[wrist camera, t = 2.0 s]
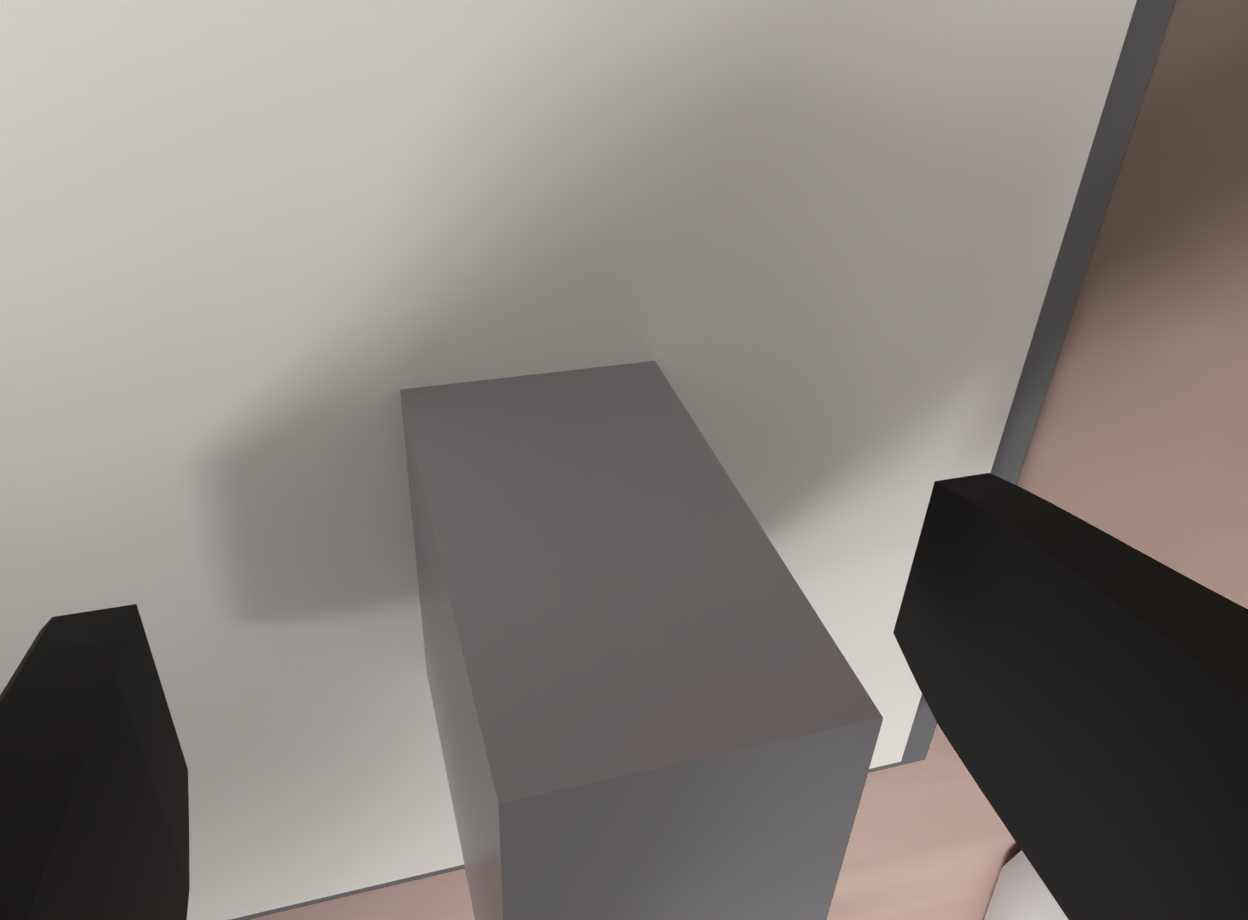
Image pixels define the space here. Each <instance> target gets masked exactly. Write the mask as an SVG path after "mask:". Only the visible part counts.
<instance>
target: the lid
mask: <svg viewBox="0 0 1248 920" xmlns="http://www.w3.org/2000/svg"><path fill="white" fill-rule="evenodd" d="M1136 1H1137V0H0V695H1V693H2V692H3V690H4V688H5V687H6V685H7V684H8V682H9V680H10V679H11V677H12V675H13V674H14V672H15V671H16V669H17V667H18V666H19V664H20V663H21V661H22V659H23V658H24V656H25V654H26V653H27V651H28V649H29V648H30V646H31V645H32V643H33V641H34V640H35V638H36V636H37V635H38V633H39V632H40V630H41V629H42V628H43V627H44V626H45V625H46V623H47V622H48V621H49V620H50V619H51V618H52V617H55V616H62V615H68V614H75V613H81V612H88V611H94V610H101V609H107V608H114V607H120V606H127V605H133V604H137V607H138V611H139V614H140V617H141V620H142V624H143V627H144V630H145V633H146V636H147V640H148V643H149V646H150V649H151V653H152V656H153V659H154V662H155V665H156V669H157V672H158V675H159V678H160V681H161V685H162V688H163V691H164V694H165V698H166V701H167V704H168V707H169V710H170V714H171V717H172V720H173V723H174V726H175V730H176V733H177V736H178V739H179V743H180V746H181V749H182V752H183V755H184V759H185V762H186V765H187V768H188V792H189V875H190V889H189V899H188V910H187V920H230V919H235V918H239V917H243V916H247V915H252V914H256V913H260V912H264V911H269V910H273V909H277V908H281V907H286V906H290V905H294V904H298V903H302V902H307V901H311V900H315V899H319V898H324V897H328V896H332V895H336V894H341V893H345V892H349V891H353V890H358V889H362V888H366V887H370V886H375V885H379V884H383V883H387V882H392V881H396V880H400V879H404V878H409V877H413V876H417V875H421V874H426V873H430V872H434V871H438V870H443V869H447V868H451V867H455V866H460V865H465V870H466V875H467V880H468V886H469V891H470V896H471V901H472V906H473V911H474V916H475V920H826V919H827V915H828V912H829V908H830V905H831V901H832V898H833V894H834V890H835V887H836V883H837V880H838V876H839V873H840V869H841V866H842V862H843V859H844V855H845V852H846V848H847V845H848V841H849V838H850V834H851V831H852V827H853V824H854V820H855V817H856V813H857V809H858V806H859V802H860V799H861V795H862V792H863V788H864V785H865V781H866V778H867V774H868V771H869V769H871V768H876V767H880V766H884V765H888V764H893V763H897V762H901V760H902V757H903V753H904V750H905V747H906V744H907V740H908V737H909V734H910V731H911V728H912V724H913V721H914V718H915V715H916V711H917V708H918V705H919V702H920V699H921V695H922V692H921V690H920V688H919V687H918V685H917V683H916V681H915V678H914V676H913V674H912V672H911V670H910V668H909V666H908V663H907V661H906V659H905V657H904V655H903V653H902V651H901V648H900V646H899V644H898V642H897V640H896V638H895V636H894V633H893V632H894V628H895V624H896V621H897V617H898V613H899V610H900V606H901V602H902V599H903V595H904V592H905V588H906V584H907V581H908V577H909V573H910V570H911V566H912V562H913V559H914V555H915V551H916V548H917V544H918V541H919V537H920V533H921V530H922V526H923V522H924V519H925V515H926V511H927V508H928V504H929V500H930V497H931V493H932V489H933V486H934V482H935V481H939V480H946V479H952V478H959V477H965V476H972V475H978V474H985V473H991V469H992V466H993V463H994V460H995V456H996V453H997V450H998V447H999V444H1000V440H1001V437H1002V434H1003V431H1004V427H1005V424H1006V421H1007V418H1008V414H1009V411H1010V408H1011V405H1012V402H1013V398H1014V395H1015V392H1016V389H1017V385H1018V382H1019V379H1020V376H1021V373H1022V369H1023V366H1024V363H1025V360H1026V356H1027V353H1028V350H1029V347H1030V343H1031V340H1032V337H1033V334H1034V331H1035V327H1036V324H1037V321H1038V318H1039V314H1040V311H1041V308H1042V305H1043V302H1044V298H1045V295H1046V292H1047V289H1048V285H1049V282H1050V279H1051V276H1052V272H1053V269H1054V266H1055V263H1056V260H1057V256H1058V253H1059V250H1060V247H1061V243H1062V240H1063V237H1064V234H1065V231H1066V227H1067V224H1068V221H1069V218H1070V214H1071V211H1072V208H1073V205H1074V201H1075V198H1076V195H1077V192H1078V189H1079V185H1080V182H1081V179H1082V176H1083V172H1084V169H1085V166H1086V163H1087V160H1088V156H1089V153H1090V150H1091V147H1092V143H1093V140H1094V137H1095V134H1096V130H1097V127H1098V124H1099V121H1100V118H1101V114H1102V111H1103V108H1104V105H1105V101H1106V98H1107V95H1108V92H1109V88H1110V85H1111V82H1112V79H1113V76H1114V72H1115V69H1116V66H1117V63H1118V59H1119V56H1120V53H1121V50H1122V47H1123V43H1124V40H1125V37H1126V34H1127V30H1128V27H1129V24H1130V21H1131V17H1132V14H1133V11H1134V8H1135V5H1136Z"/></svg>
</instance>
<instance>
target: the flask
mask: <svg viewBox="0 0 1248 920" xmlns="http://www.w3.org/2000/svg"><path fill="white" fill-rule="evenodd" d="M984 920H1068V918H1067V917H1066V915H1065V914H1064V912H1063V911H1062V909H1061V908H1060V906H1059V905H1058V903H1057V902H1056V900H1055V899H1054V897H1053V896H1052V894H1051V893H1050V891H1049V890H1048V889H1047V887H1046V886H1045V884H1044V883H1043V881H1042V880H1041V878H1040V877H1039V875H1038V874H1037V872H1036V871H1035V869H1034V868H1033V866H1032V865H1031V863H1030V862H1029V860H1028V859H1027V857H1026V856H1025V854H1024V853H1023V851H1022V850H1021V851H1020V852H1019V853H1018V854H1017V855H1015V856H1014V857H1013V858H1012V859H1011V860H1010V861H1009V862H1008V863H1007V864H1006V865H1004V866H1003V867H1002V869H1001V872H1000V874H999V877H998V880H997V883H996V886H995V889H994V892H993V895H992V898H991V901H990V904H989V907H988V910H987V913H986V915H985V918H984Z"/></svg>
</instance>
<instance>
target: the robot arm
mask: <svg viewBox="0 0 1248 920" xmlns="http://www.w3.org/2000/svg"><path fill="white" fill-rule="evenodd" d="M893 633H894V636H895V638H896V640H897V642H898V644H899V646H900V648H901V651H902V653H903V655H904V657H905V659H906V661H907V663H908V666H909V668H910V670H911V672H912V674H913V676H914V678H915V681H916V683H917V685H918V687H919V688H920V690H921V692H922V694H923V696H924V698H925V700H926V702H927V704H928V706H929V708H930V710H931V712H932V714H933V716H934V718H935V720H936V722H937V723H938V725H939V726H940V728H941V729H942V731H943V733H944V734H945V736H946V737H947V739H948V740H949V742H950V744H951V745H952V747H953V748H954V750H955V751H956V753H957V754H958V756H959V757H960V759H961V760H962V762H963V763H964V765H965V766H966V768H967V769H968V771H969V772H970V774H971V775H972V777H973V778H974V780H975V781H976V783H977V784H978V786H979V788H980V789H981V791H982V792H983V794H984V795H985V797H986V798H987V799H988V801H989V802H990V804H991V805H992V807H993V808H994V810H995V811H996V813H997V814H998V816H999V817H1000V819H1001V820H1002V822H1003V823H1004V825H1005V826H1006V828H1007V829H1008V831H1009V832H1010V834H1011V835H1012V837H1013V838H1014V840H1015V841H1016V842H1017V844H1018V845H1019V847H1020V848H1021V850H1022V851H1023V853H1024V854H1025V856H1026V857H1027V859H1028V860H1029V862H1030V863H1031V865H1032V866H1033V868H1034V869H1035V871H1036V872H1037V874H1038V875H1039V877H1040V878H1041V880H1042V881H1043V883H1044V884H1045V886H1046V887H1047V889H1048V890H1049V891H1050V893H1051V894H1052V896H1053V897H1054V899H1055V900H1056V902H1057V903H1058V905H1059V906H1060V908H1061V909H1062V911H1063V912H1064V914H1065V915H1066V917H1067V918H1068V920H1248V609H1246V608H1244V607H1242V606H1240V605H1238V604H1236V603H1234V602H1233V601H1231V600H1229V599H1227V598H1225V597H1223V596H1221V595H1219V594H1217V593H1216V592H1214V591H1212V590H1210V589H1208V588H1206V587H1204V586H1202V585H1200V584H1199V583H1197V582H1195V581H1193V580H1191V579H1189V578H1188V577H1186V576H1184V575H1182V574H1180V573H1178V572H1176V571H1175V570H1173V569H1171V568H1169V567H1167V566H1165V565H1163V564H1162V563H1160V562H1158V561H1156V560H1154V559H1153V558H1151V557H1149V556H1147V555H1145V554H1143V553H1142V552H1140V551H1138V550H1136V549H1134V548H1132V547H1131V546H1129V545H1127V544H1125V543H1123V542H1121V541H1120V540H1118V539H1116V538H1114V537H1112V536H1111V535H1109V534H1107V533H1105V532H1103V531H1101V530H1100V529H1098V528H1096V527H1094V526H1092V525H1091V524H1089V523H1087V522H1085V521H1083V520H1081V519H1080V518H1078V517H1076V516H1074V515H1072V514H1070V513H1068V512H1067V511H1065V510H1063V509H1061V508H1059V507H1057V506H1055V505H1053V504H1052V503H1050V502H1048V501H1046V500H1044V499H1042V498H1040V497H1038V496H1036V495H1034V494H1032V493H1030V492H1028V491H1026V490H1024V489H1022V488H1020V487H1018V486H1016V485H1014V484H1012V483H1010V482H1008V481H1006V480H1004V479H1002V478H999V477H997V476H995V475H993V474H991V473H985V474H978V475H972V476H965V477H959V478H952V479H946V480H939V481H935V482H934V486H933V489H932V493H931V497H930V500H929V504H928V508H927V511H926V515H925V519H924V522H923V526H922V530H921V533H920V537H919V541H918V544H917V548H916V551H915V555H914V559H913V562H912V566H911V570H910V573H909V577H908V581H907V584H906V588H905V592H904V595H903V599H902V602H901V606H900V610H899V613H898V617H897V621H896V624H895V628H894V632H893ZM189 889H190V875H189V792H188V768H187V765H186V762H185V759H184V755H183V752H182V749H181V746H180V743H179V739H178V736H177V733H176V730H175V726H174V723H173V720H172V717H171V714H170V710H169V707H168V704H167V701H166V698H165V694H164V691H163V688H162V685H161V681H160V678H159V675H158V672H157V669H156V665H155V662H154V659H153V656H152V653H151V649H150V646H149V643H148V640H147V636H146V633H145V630H144V627H143V624H142V620H141V617H140V614H139V611H138V607H137V604H133V605H127V606H120V607H114V608H107V609H101V610H94V611H88V612H81V613H75V614H68V615H62V616H55V617H52V618H51V619H50V620H49V621H48V622H47V623H46V625H45V626H44V627H43V628H42V629H41V630H40V632H39V633H38V635H37V636H36V638H35V640H34V641H33V643H32V645H31V646H30V648H29V649H28V651H27V653H26V654H25V656H24V658H23V659H22V661H21V663H20V664H19V666H18V667H17V669H16V671H15V672H14V674H13V675H12V677H11V679H10V680H9V682H8V684H7V685H6V687H5V688H4V690H3V692H2V693H1V695H0V920H187V910H188V899H189Z"/></svg>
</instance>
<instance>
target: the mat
mask: <svg viewBox="0 0 1248 920" xmlns="http://www.w3.org/2000/svg"><path fill="white" fill-rule="evenodd" d="M1175 1H1176V0H1137V1H1136V5H1135V8H1134V11H1133V14H1132V17H1131V21H1130V24H1129V27H1128V30H1127V34H1126V37H1125V40H1124V43H1123V47H1122V50H1121V53H1120V56H1119V59H1118V63H1117V66H1116V69H1115V72H1114V76H1113V79H1112V82H1111V85H1110V88H1109V92H1108V95H1107V98H1106V101H1105V105H1104V108H1103V111H1102V114H1101V118H1100V121H1099V124H1098V127H1097V130H1096V134H1095V137H1094V140H1093V143H1092V147H1091V150H1090V153H1089V156H1088V160H1087V163H1086V166H1085V169H1084V172H1083V176H1082V179H1081V182H1080V185H1079V189H1078V192H1077V195H1076V198H1075V201H1074V205H1073V208H1072V211H1071V214H1070V218H1069V221H1068V224H1067V227H1066V231H1065V234H1064V237H1063V240H1062V243H1061V247H1060V250H1059V253H1058V256H1057V260H1056V263H1055V266H1054V269H1053V272H1052V276H1051V279H1050V282H1049V285H1048V289H1047V292H1046V295H1045V298H1044V302H1043V305H1042V308H1041V311H1040V314H1039V318H1038V321H1037V324H1036V327H1035V331H1034V334H1033V337H1032V340H1031V343H1030V347H1029V350H1028V353H1027V356H1026V360H1025V363H1024V366H1023V369H1022V373H1021V376H1020V379H1019V382H1018V385H1017V389H1016V392H1015V395H1014V398H1013V402H1012V405H1011V408H1010V411H1009V414H1008V418H1007V421H1006V424H1005V427H1004V431H1003V434H1002V437H1001V440H1000V444H999V447H998V450H997V453H996V456H995V460H994V463H993V466H992V469H991V474H993V475H995V476H997V477H999V478H1002V479H1004V480H1006V481H1008V482H1010V483H1012V484H1014V485H1016V483H1017V480H1018V477H1019V474H1020V471H1021V468H1022V465H1023V462H1024V459H1025V455H1026V452H1027V449H1028V446H1029V443H1030V440H1031V437H1032V434H1033V431H1034V428H1035V425H1036V422H1037V419H1038V416H1039V413H1040V410H1041V407H1042V404H1043V401H1044V398H1045V395H1046V392H1047V389H1048V386H1049V383H1050V380H1051V377H1052V374H1053V371H1054V368H1055V365H1056V362H1057V359H1058V356H1059V353H1060V349H1061V346H1062V343H1063V340H1064V337H1065V334H1066V331H1067V328H1068V325H1069V322H1070V319H1071V316H1072V313H1073V310H1074V307H1075V304H1076V301H1077V298H1078V295H1079V292H1080V289H1081V286H1082V283H1083V280H1084V277H1085V274H1086V271H1087V268H1088V265H1089V262H1090V259H1091V256H1092V253H1093V250H1094V247H1095V243H1096V240H1097V237H1098V234H1099V231H1100V228H1101V225H1102V222H1103V219H1104V216H1105V213H1106V210H1107V207H1108V204H1109V201H1110V198H1111V195H1112V192H1113V189H1114V186H1115V183H1116V180H1117V177H1118V174H1119V171H1120V168H1121V165H1122V162H1123V159H1124V156H1125V153H1126V150H1127V147H1128V144H1129V140H1130V137H1131V134H1132V131H1133V128H1134V125H1135V122H1136V119H1137V116H1138V113H1139V110H1140V107H1141V104H1142V101H1143V98H1144V95H1145V92H1146V89H1147V86H1148V83H1149V80H1150V77H1151V74H1152V71H1153V68H1154V65H1155V62H1156V59H1157V56H1158V53H1159V50H1160V47H1161V44H1162V41H1163V38H1164V34H1165V31H1166V28H1167V25H1168V22H1169V19H1170V16H1171V13H1172V10H1173V7H1174V4H1175ZM936 725H937V722H936V720H935V718H934V716H933V714H932V712H931V710H930V708H929V706H928V704H927V702H926V700H925V698H924V696H923V694H922V695H921V699H920V702H919V705H918V708H917V711H916V715H915V718H914V721H913V724H912V728H911V731H910V734H909V737H908V740H907V744H906V747H905V750H904V753H903V757H902V760H901V762H897V763H893V764H888V765H884V766H880V767H876V768H871V769H869V771H868V773H869V772H874V771H878V770H882V769H886V768H890V767H895V766H899V765H903V764H907V763H912V762H916V761H920V760H924V759H925V758H926V755H927V752H928V749H929V746H930V743H931V740H932V737H933V734H934V731H935V728H936ZM463 868H465V865H460V866H455V867H451V868H447V869H443V870H438V871H434V872H430V873H426V874H421V875H417V876H413V877H409V878H404V879H400V880H396V881H392V882H387V883H383V884H379V885H375V886H370V887H366V888H362V889H358V890H353V891H349V892H345V893H341V894H336V895H332V896H328V897H324V898H319V899H315V900H311V901H307V902H302V903H298V904H294V905H290V906H286V907H281V908H277V909H273V910H269V911H264V912H260V913H256V914H252V915H247V916H243V917H239V918H235V919H230V920H248V919H252V918H256V917H261V916H265V915H269V914H273V913H277V912H282V911H286V910H290V909H294V908H299V907H303V906H307V905H311V904H315V903H320V902H324V901H328V900H332V899H337V898H341V897H345V896H349V895H354V894H358V893H362V892H366V891H370V890H375V889H379V888H383V887H387V886H392V885H396V884H400V883H404V882H408V881H413V880H417V879H421V878H425V877H430V876H434V875H438V874H442V873H447V872H451V871H455V870H459V869H463Z"/></svg>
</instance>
